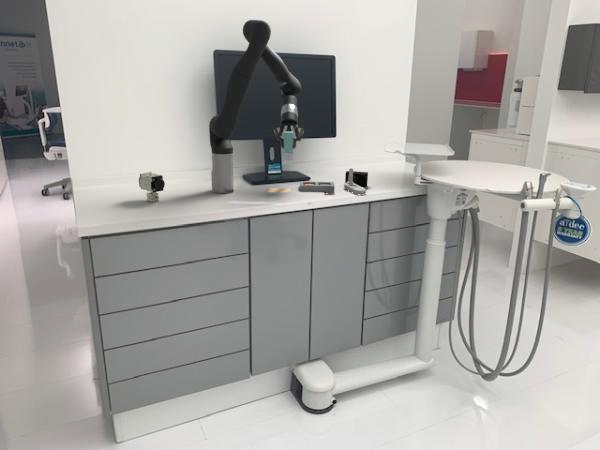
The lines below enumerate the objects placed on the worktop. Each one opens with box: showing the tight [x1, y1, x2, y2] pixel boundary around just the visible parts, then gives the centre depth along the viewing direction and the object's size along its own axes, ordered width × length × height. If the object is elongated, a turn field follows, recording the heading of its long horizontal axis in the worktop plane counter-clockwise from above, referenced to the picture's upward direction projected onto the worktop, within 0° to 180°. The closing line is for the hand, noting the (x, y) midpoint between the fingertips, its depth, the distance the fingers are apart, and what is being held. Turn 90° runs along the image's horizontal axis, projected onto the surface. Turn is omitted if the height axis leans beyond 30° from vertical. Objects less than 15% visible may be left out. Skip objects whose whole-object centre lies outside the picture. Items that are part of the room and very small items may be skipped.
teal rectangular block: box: [283, 131, 294, 161], centre depth 210 cm, size 4×4×12 cm
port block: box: [299, 180, 336, 194], centre depth 218 cm, size 16×9×4 cm, turn 89°
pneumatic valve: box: [138, 171, 166, 203], centre depth 194 cm, size 6×12×12 cm, turn 51°
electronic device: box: [343, 167, 367, 195], centre depth 218 cm, size 5×10×15 cm
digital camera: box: [344, 170, 369, 187], centre depth 228 cm, size 10×5×7 cm, turn 77°
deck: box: [266, 187, 291, 194], centre depth 215 cm, size 10×8×1 cm
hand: (288, 147), depth 208 cm, fingers closed on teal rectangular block, 4 cm apart
